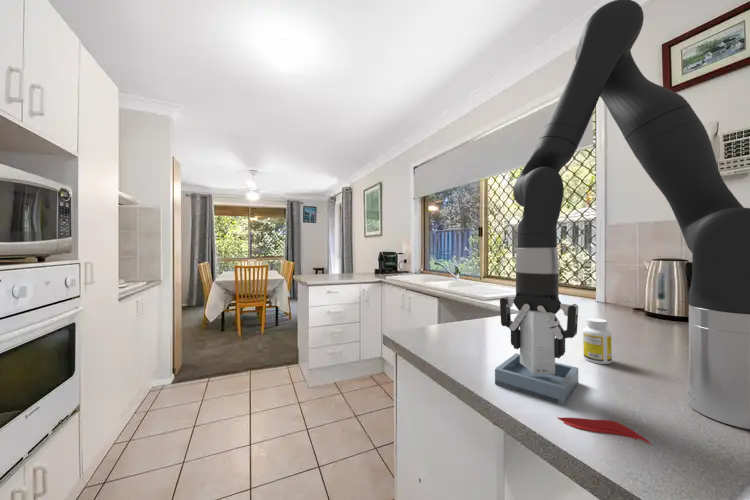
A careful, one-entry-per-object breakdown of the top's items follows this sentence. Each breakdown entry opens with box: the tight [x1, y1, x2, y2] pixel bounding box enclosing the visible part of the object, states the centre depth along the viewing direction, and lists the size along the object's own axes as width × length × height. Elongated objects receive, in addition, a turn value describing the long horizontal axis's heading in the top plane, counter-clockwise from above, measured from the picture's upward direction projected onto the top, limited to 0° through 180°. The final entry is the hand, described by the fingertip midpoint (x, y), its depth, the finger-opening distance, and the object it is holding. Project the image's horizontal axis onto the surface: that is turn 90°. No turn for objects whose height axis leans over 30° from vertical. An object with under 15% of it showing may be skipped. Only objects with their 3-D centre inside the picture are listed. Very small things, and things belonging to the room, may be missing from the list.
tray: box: [494, 353, 579, 407], centre depth 59 cm, size 12×12×3 cm
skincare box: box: [519, 310, 556, 375], centre depth 59 cm, size 6×4×12 cm
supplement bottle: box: [582, 317, 613, 365], centre depth 71 cm, size 5×5×10 cm
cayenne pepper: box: [556, 416, 653, 446], centre depth 44 cm, size 12×5×2 cm, turn 46°
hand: (536, 352), depth 59 cm, fingers closed on skincare box, 7 cm apart
